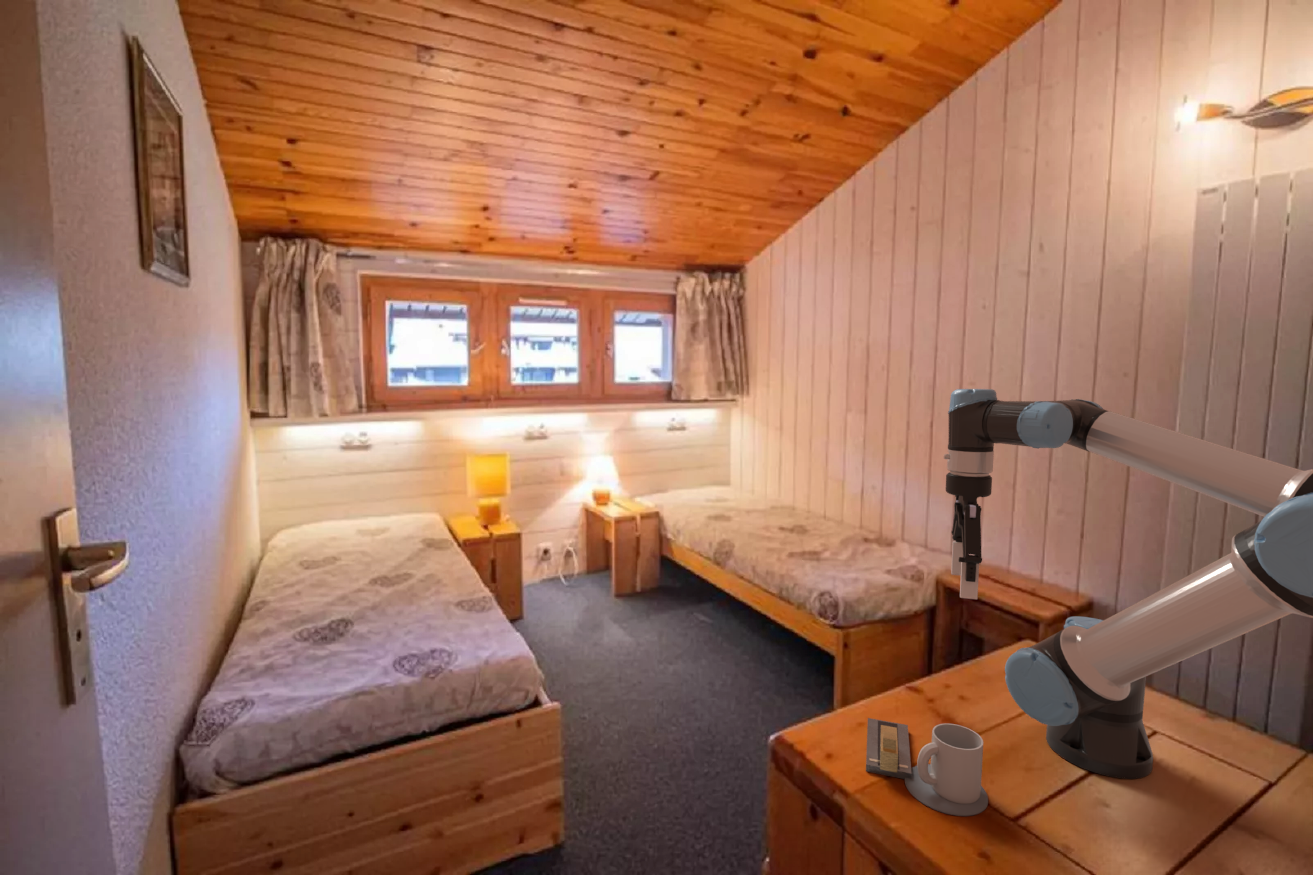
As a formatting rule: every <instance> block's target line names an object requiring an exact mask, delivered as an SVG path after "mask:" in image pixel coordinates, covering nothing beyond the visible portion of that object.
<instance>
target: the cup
mask: <svg viewBox="0 0 1313 875" xmlns="http://www.w3.org/2000/svg"><path fill="white" fill-rule="evenodd" d="M931 731H932V732H931V742H929V743H927V744H925V745H924V746H922V748H920V750H919V752H918V756H917V761H916V763H917V764H916V766H917V768H918V774H919V776H920V778H921V780H922V781H923V782H924V783H926V784H929V785H931V786H932V787H933V789H934V790H935V792H936V793H937V794H938V795H940V796H941V797H943V798H944V799H947V800H949V801H951V802H954V803H959V804H971V803H974V802H976V801H977V800H978V799H979V797H980V792H981V786H982V775H983V757H984V756H983V754H984V753H983V752H984V740H983V738H982V736H980V734H979V733H977V732H976V731H974V730H972V729H970V728H969V727H966V726H963V725H960V724H954V723H939V724H936V725H935V726H934V727H933V728H932V730H931ZM929 762H930V763H929ZM928 764H931V770H930V774H929V772H928Z"/></svg>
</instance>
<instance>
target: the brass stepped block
mask: <svg viewBox="0 0 1313 875" xmlns="http://www.w3.org/2000/svg"><path fill="white" fill-rule="evenodd" d="M897 768H898V742H897V728H895V727H890V726H884V725H881V735H880V769H881V770H886V771H891V772H896V773H897Z"/></svg>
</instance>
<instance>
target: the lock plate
mask: <svg viewBox="0 0 1313 875" xmlns="http://www.w3.org/2000/svg"><path fill="white" fill-rule="evenodd" d="M881 725H884V726H890V727H895V728H897V742H898V768H897V773H896V772H891V771H886V770H881V769H880V735H881ZM866 733H867V734H866V754H865V755H866V759H865V772H869V773H872V774H877V775H882V776H887V777H891V778H898V779H902V780H905V778H910V779H911V775H912V773H911V768H912V762H911V760H912V759H911V750H910V749H911V748H910V739H909V726H908V724H904V723H898V722H892V721H887V720H881V719H876V718H870V717H867V732H866Z"/></svg>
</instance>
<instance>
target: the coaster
mask: <svg viewBox="0 0 1313 875" xmlns="http://www.w3.org/2000/svg"><path fill="white" fill-rule="evenodd" d="M930 770H931V763H928V772H929V774H930ZM911 773H912V775H911V779H910V778H905V779H904V784H905V787H906V789H907V790H908V792H909V793H910V795H912V796H913V797H914V798H915V800H917V801H918V802H920V803H921V804H922V805H924V806H927V807H928V808H930V809H931V810H934V811H935V812H936V811H937V812H939V813H942V814H946V815H951V816H957V817H970V816H971V817H972V816H976V815H979V814H981V813H983V812H985V810H986V809H987V808H988V806H989V805H988V804H989V795H988V793H987V791H986V790H985V788H984V787H983V785H981V792H980V797H979V799H978V800H977V801H976V802H974V803H971V804H959V803H954V802H951V801H949V800H947V799H944V798H943V797H941V796H940V795H938V794H937V793H936V792H935V790H934V789H933V787H932V786H931V785H929V784H926V783H924V782H923V781H922V780H921V778H920V776H919V774H918V768H917V765H915V766H911Z"/></svg>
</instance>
